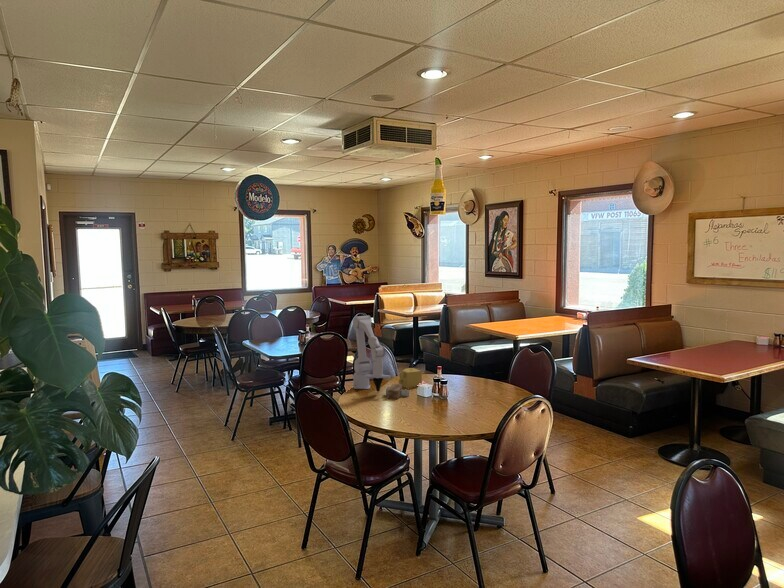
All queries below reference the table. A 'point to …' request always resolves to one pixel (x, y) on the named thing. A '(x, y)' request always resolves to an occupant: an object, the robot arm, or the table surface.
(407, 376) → the cheese
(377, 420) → the table surface
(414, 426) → the table surface
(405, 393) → the steel key pin
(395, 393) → the walnut tunnel block
